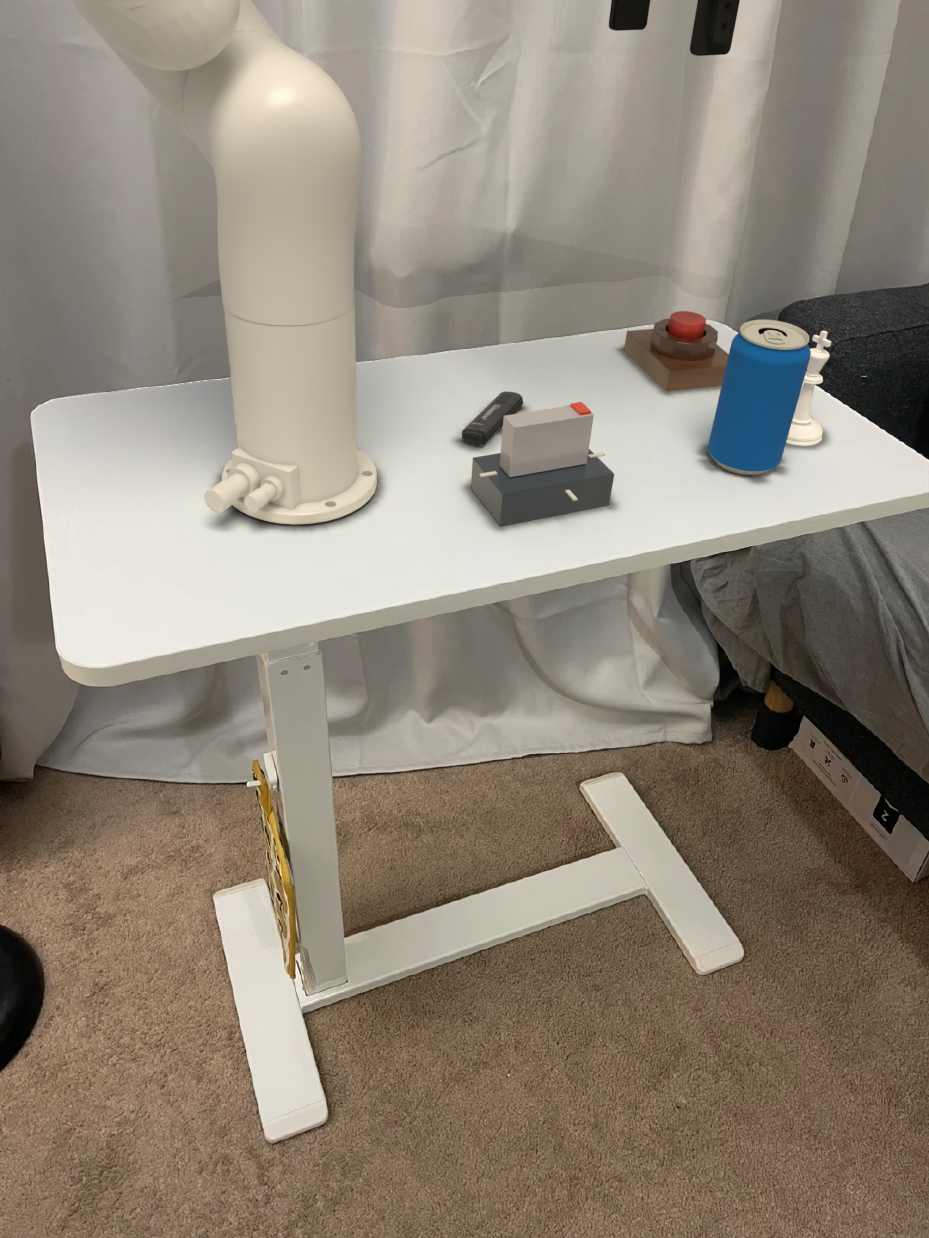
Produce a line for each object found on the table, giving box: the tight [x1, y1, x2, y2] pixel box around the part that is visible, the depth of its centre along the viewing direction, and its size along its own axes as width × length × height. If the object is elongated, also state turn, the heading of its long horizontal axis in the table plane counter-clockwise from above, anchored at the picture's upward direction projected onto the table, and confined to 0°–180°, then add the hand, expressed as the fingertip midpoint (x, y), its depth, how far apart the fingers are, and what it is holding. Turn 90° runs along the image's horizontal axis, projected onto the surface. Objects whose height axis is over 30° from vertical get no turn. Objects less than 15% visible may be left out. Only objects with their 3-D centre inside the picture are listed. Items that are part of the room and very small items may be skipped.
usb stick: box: [461, 390, 524, 446], centre depth 92 cm, size 10×3×2 cm, turn 155°
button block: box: [623, 318, 729, 393], centre depth 103 cm, size 10×8×4 cm
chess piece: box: [786, 330, 833, 447], centre depth 91 cm, size 5×5×10 cm
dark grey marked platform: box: [470, 448, 615, 527], centre depth 82 cm, size 11×11×3 cm
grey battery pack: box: [500, 401, 595, 477], centre depth 80 cm, size 7×2×5 cm, turn 113°
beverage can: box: [707, 319, 811, 476], centre depth 86 cm, size 6×6×12 cm
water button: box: [668, 310, 707, 339], centre depth 102 cm, size 4×4×2 cm
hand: (666, 41), depth 73 cm, fingers open, 9 cm apart
